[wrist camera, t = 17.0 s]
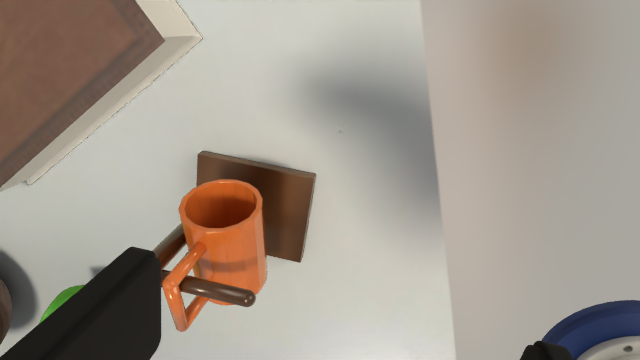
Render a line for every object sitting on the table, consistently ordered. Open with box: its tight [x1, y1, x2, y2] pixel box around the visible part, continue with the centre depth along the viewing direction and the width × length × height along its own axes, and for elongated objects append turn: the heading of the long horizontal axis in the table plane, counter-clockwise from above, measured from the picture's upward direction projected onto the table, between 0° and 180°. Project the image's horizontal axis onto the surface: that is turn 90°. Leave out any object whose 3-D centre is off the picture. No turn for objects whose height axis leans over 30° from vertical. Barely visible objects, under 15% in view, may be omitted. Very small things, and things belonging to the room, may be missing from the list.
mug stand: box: [153, 151, 316, 307], centre depth 34 cm, size 12×10×15 cm
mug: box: [162, 179, 267, 332], centre depth 32 cm, size 11×6×9 cm
